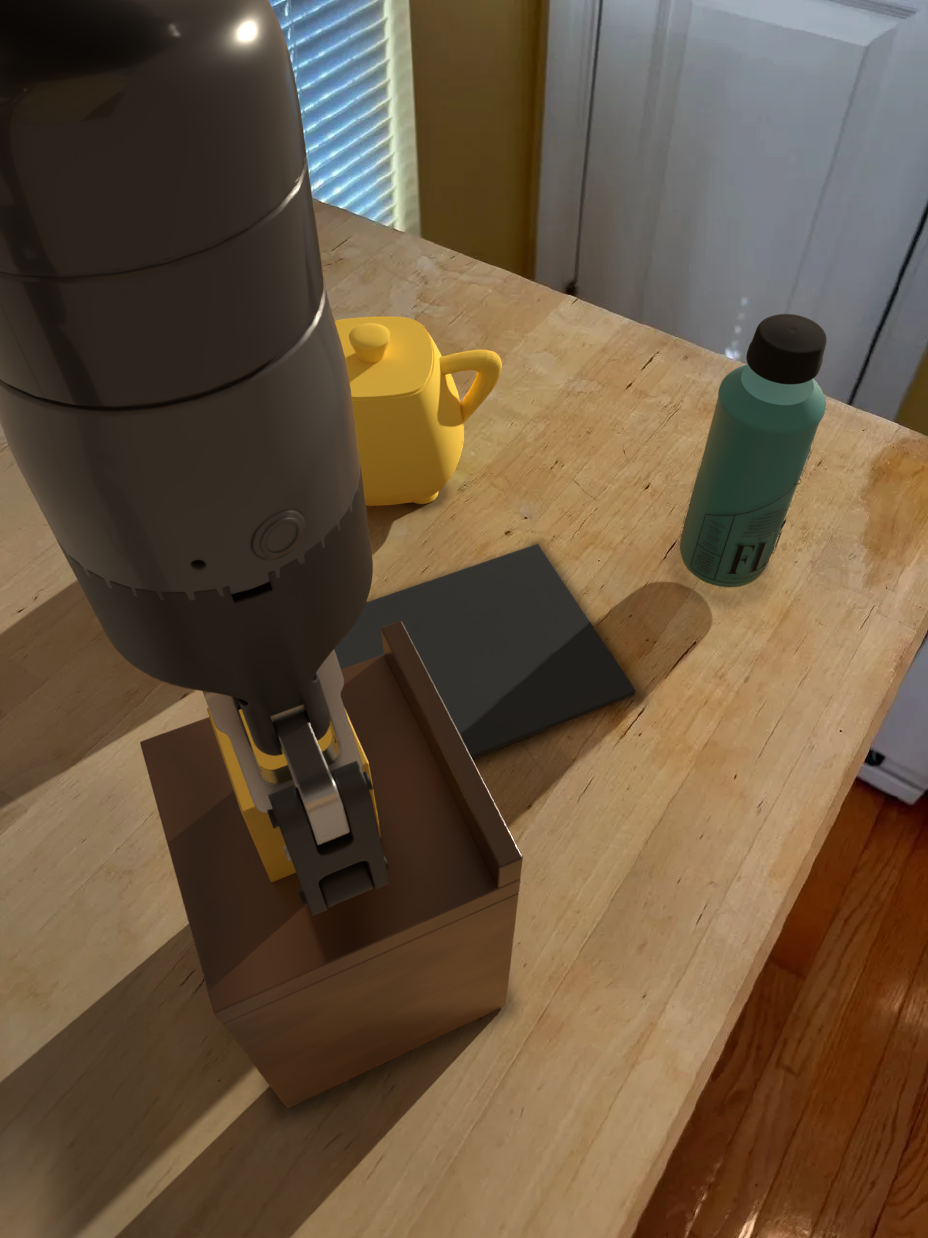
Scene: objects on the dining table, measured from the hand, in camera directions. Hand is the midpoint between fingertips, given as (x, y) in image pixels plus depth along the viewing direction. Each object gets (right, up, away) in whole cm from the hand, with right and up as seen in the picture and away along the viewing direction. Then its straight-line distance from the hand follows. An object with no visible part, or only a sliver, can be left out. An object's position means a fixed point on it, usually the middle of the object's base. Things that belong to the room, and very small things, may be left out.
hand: (300, 779), depth 35 cm
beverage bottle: (+24, +10, +32) cm, 42 cm away
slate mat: (+6, +3, +27) cm, 28 cm away
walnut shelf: (0, -12, +16) cm, 20 cm away
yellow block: (0, -2, +2) cm, 3 cm away
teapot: (-1, +18, +39) cm, 43 cm away
